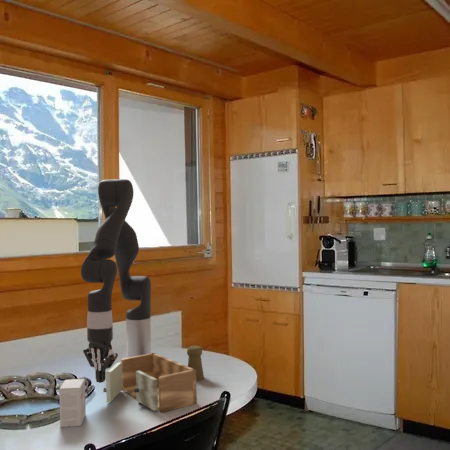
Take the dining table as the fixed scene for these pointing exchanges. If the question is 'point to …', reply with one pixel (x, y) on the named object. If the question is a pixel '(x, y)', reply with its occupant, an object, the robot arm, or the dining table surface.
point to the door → (113, 381)
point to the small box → (72, 402)
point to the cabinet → (159, 382)
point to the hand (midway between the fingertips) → (100, 381)
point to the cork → (195, 361)
